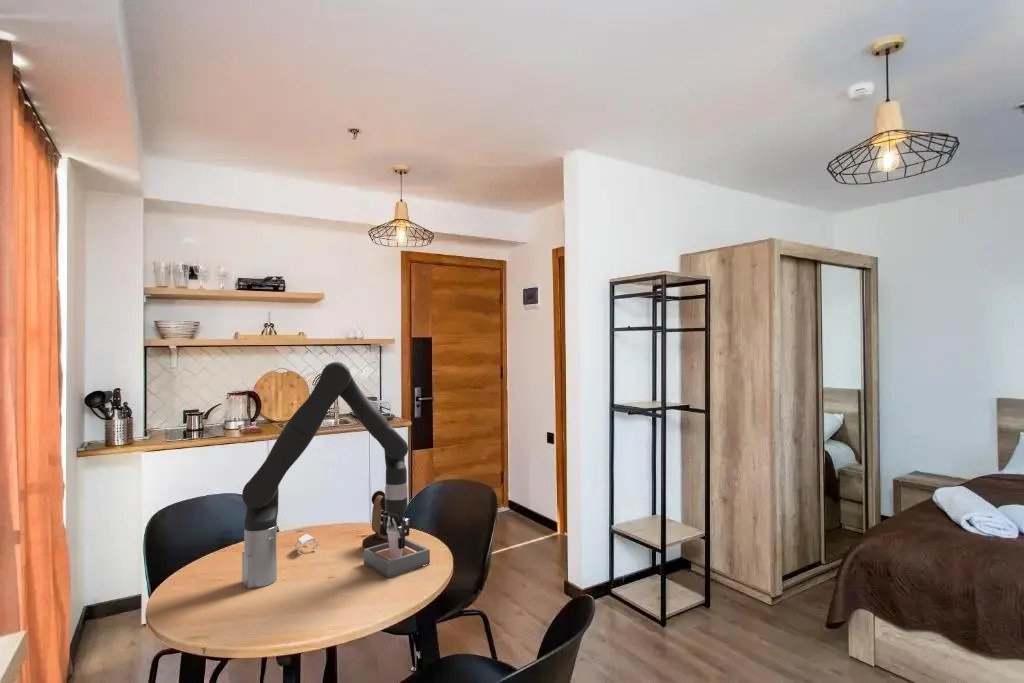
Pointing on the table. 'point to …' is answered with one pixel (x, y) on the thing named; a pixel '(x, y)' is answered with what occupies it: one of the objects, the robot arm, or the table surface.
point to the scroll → (377, 522)
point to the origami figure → (306, 539)
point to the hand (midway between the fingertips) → (396, 545)
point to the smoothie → (394, 543)
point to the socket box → (389, 567)
